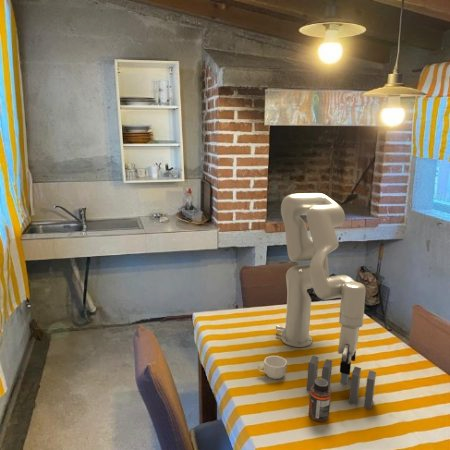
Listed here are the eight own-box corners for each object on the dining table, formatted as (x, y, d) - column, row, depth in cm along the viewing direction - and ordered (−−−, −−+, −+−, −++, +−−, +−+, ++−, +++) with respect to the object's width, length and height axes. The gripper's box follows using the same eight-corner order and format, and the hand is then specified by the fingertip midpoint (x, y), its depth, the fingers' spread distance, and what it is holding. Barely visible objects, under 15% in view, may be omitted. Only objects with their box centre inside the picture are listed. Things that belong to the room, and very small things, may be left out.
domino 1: (306, 390, 132) (308, 362, 130) (310, 382, 137) (312, 355, 135) (312, 392, 131) (314, 364, 129) (316, 384, 136) (318, 357, 134)
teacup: (282, 368, 145) (283, 355, 143) (288, 381, 137) (289, 366, 136) (255, 370, 143) (256, 356, 142) (259, 382, 136) (260, 368, 135)
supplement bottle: (305, 409, 123) (308, 376, 120) (325, 409, 123) (327, 375, 121) (311, 423, 117) (314, 388, 115) (331, 422, 117) (334, 387, 115)
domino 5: (363, 407, 124) (367, 378, 122) (366, 398, 129) (369, 370, 127) (370, 409, 124) (374, 380, 122) (372, 400, 128) (376, 371, 126)
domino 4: (348, 403, 126) (351, 374, 124) (351, 394, 131) (354, 366, 129) (355, 404, 126) (358, 376, 123) (358, 396, 130) (361, 368, 128)
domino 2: (320, 394, 130) (322, 366, 128) (323, 386, 135) (326, 359, 133) (326, 396, 129) (328, 368, 127) (329, 388, 134) (332, 360, 132)
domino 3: (340, 382, 137) (343, 355, 135) (343, 375, 142) (346, 348, 139) (346, 384, 136) (349, 357, 134) (349, 376, 141) (352, 350, 139)
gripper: (344, 308, 143) (341, 352, 147) (334, 326, 128) (330, 376, 131) (366, 312, 140) (362, 357, 143) (358, 331, 125) (354, 382, 128)
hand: (347, 366), depth 137 cm, fingers open, 9 cm apart
